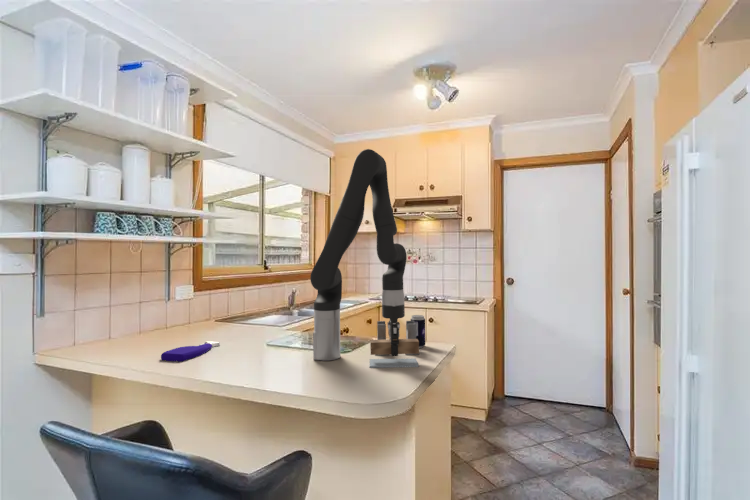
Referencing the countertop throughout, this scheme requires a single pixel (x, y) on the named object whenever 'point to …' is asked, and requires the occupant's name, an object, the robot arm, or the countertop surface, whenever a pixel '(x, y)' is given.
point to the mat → (393, 363)
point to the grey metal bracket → (381, 331)
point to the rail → (403, 347)
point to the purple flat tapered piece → (188, 352)
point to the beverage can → (419, 328)
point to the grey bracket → (410, 332)
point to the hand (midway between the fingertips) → (394, 353)
